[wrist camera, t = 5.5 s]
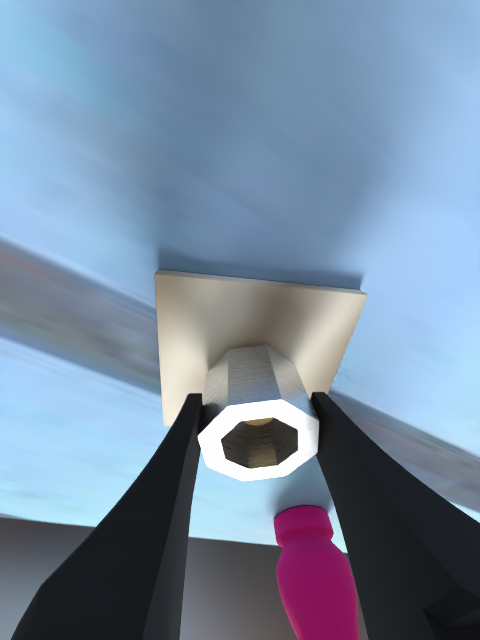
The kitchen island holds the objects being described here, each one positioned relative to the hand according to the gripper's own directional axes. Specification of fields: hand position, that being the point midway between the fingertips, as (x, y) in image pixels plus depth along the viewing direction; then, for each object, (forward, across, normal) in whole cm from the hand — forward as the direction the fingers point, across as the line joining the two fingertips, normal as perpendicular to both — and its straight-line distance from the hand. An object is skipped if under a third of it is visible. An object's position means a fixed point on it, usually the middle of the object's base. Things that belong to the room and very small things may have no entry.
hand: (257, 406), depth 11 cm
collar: (+2, 0, +1) cm, 2 cm away
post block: (+4, 0, 0) cm, 4 cm away
